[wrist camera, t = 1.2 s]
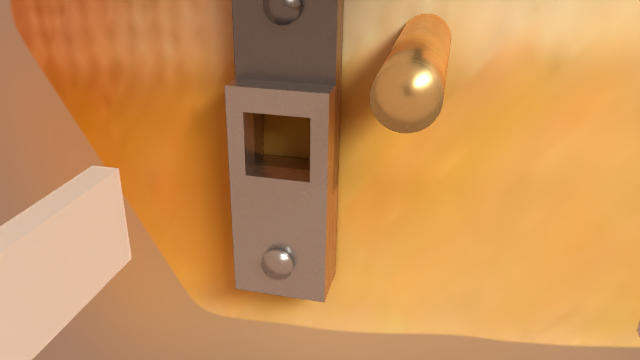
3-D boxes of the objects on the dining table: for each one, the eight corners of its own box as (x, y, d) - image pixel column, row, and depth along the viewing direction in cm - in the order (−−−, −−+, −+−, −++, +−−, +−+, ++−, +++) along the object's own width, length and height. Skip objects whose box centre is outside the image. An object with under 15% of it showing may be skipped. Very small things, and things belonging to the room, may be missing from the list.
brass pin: (402, 12, 37) (371, 59, 25) (453, 14, 37) (447, 64, 24) (399, 61, 39) (367, 129, 26) (448, 64, 38) (439, 136, 26)
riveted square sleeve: (240, -50, 38) (213, -46, 34) (345, -46, 37) (329, -42, 33) (252, 261, 48) (232, 293, 44) (335, 273, 47) (322, 307, 43)
